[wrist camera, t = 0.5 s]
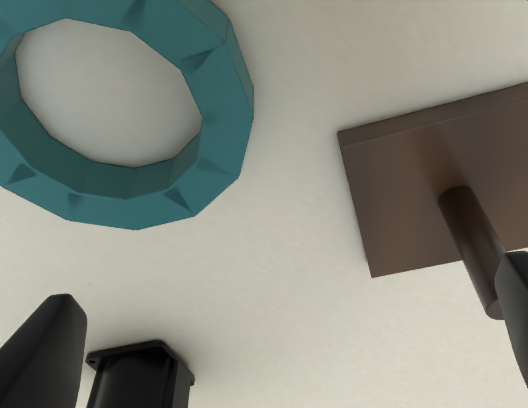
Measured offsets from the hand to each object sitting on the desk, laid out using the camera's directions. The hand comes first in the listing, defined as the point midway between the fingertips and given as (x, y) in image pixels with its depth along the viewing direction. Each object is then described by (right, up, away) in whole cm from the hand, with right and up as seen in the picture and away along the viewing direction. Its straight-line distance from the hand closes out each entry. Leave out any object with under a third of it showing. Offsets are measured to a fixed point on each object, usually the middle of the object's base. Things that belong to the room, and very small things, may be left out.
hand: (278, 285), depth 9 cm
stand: (+9, +3, +14) cm, 17 cm away
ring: (-7, +7, +10) cm, 14 cm away
